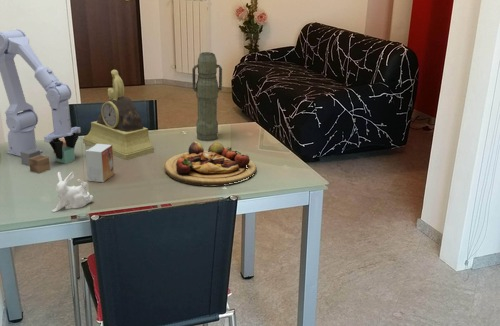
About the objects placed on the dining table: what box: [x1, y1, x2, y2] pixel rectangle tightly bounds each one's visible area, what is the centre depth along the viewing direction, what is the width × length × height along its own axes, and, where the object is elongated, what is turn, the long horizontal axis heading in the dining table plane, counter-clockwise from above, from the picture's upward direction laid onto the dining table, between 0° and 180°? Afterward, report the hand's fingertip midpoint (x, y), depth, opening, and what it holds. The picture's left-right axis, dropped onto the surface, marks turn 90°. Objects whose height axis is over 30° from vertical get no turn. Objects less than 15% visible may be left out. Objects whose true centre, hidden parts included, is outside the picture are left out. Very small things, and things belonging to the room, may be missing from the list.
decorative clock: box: [82, 69, 155, 161], centre depth 192 cm, size 28×13×30 cm, turn 49°
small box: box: [85, 144, 115, 183], centre depth 166 cm, size 8×6×10 cm
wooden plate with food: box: [164, 140, 257, 186], centre depth 177 cm, size 32×32×8 cm
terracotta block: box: [53, 138, 66, 154], centre depth 189 cm, size 4×4×4 cm
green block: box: [54, 146, 76, 165], centre depth 181 cm, size 4×4×4 cm
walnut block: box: [29, 154, 51, 174], centre depth 172 cm, size 4×4×4 cm
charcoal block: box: [20, 148, 41, 167], centre depth 178 cm, size 4×4×4 cm
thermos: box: [191, 51, 223, 142], centre depth 206 cm, size 9×12×35 cm
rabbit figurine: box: [50, 171, 94, 213], centre depth 147 cm, size 12×8×10 cm, turn 117°
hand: (65, 156), depth 181 cm, fingers closed on green block, 4 cm apart
